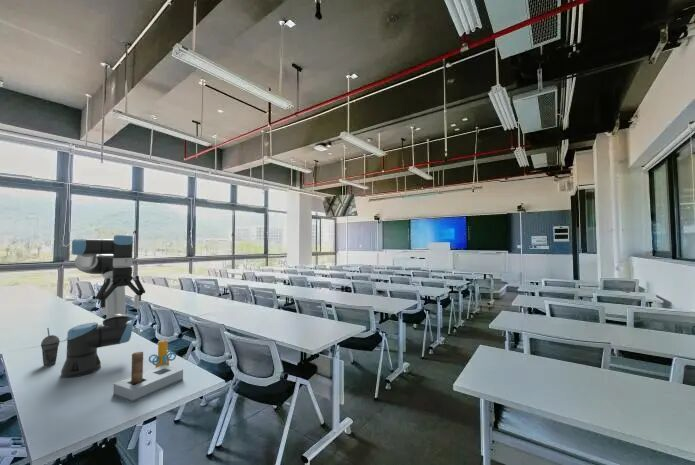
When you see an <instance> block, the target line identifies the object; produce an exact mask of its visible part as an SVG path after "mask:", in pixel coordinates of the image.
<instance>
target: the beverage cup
mask: <svg viewBox="0 0 695 465" xmlns="http://www.w3.org/2000/svg"><path fill="white" fill-rule="evenodd" d="M60 342H61V341H60V338H59V337H58V336H57V335H52V334H50V329H49V327H47V336H46V337H44V338H43V339H42V341H41V343H40V346H41V347H40V348H41V350H42V351H41V352H42V364H43V367H45V366H47V367H51V365H52V366H54V364H55V365H56V362H57V358H58V350H59V346H60Z"/></svg>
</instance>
